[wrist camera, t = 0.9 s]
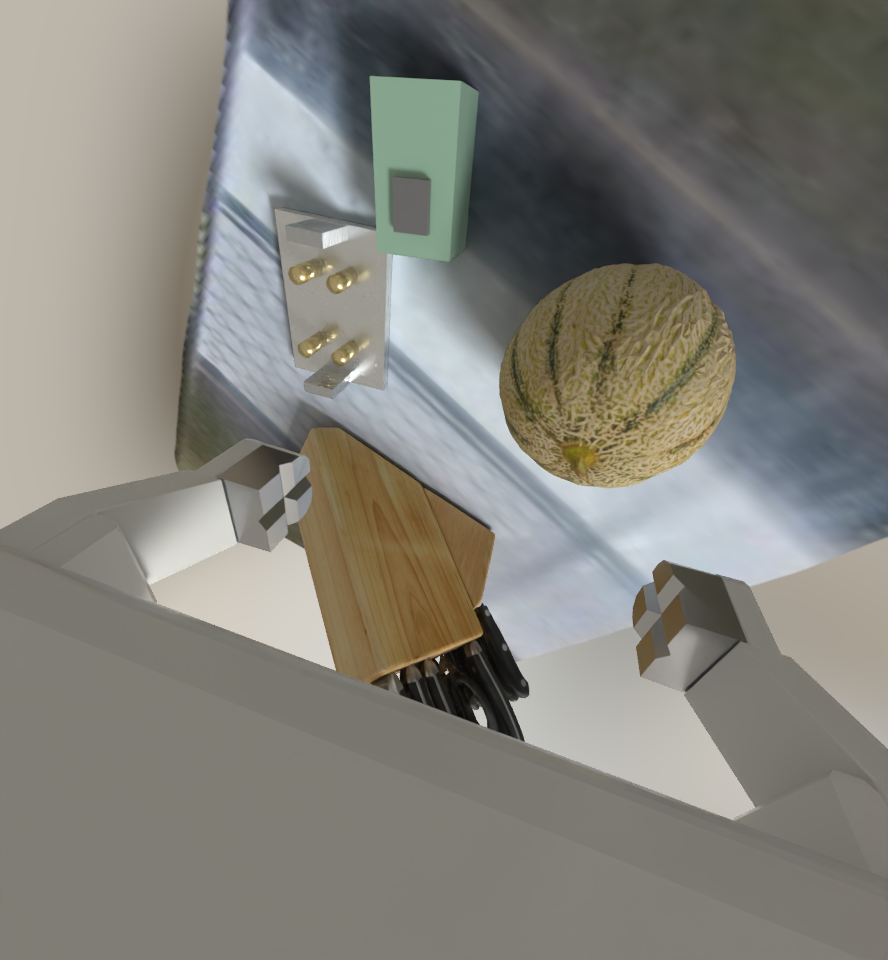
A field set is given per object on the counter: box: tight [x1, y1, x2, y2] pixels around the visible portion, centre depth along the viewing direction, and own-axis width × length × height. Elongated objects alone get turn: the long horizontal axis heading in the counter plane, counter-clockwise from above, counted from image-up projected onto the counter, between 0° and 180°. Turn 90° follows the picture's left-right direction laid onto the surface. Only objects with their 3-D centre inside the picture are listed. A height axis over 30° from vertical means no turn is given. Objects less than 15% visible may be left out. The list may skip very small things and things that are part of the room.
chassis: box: [274, 208, 393, 399], centre depth 35 cm, size 14×10×5 cm
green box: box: [370, 76, 479, 262], centre depth 27 cm, size 9×6×6 cm, turn 176°
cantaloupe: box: [499, 263, 736, 488], centre depth 27 cm, size 15×15×15 cm
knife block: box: [298, 427, 529, 742], centre depth 41 cm, size 11×35×31 cm, turn 57°
